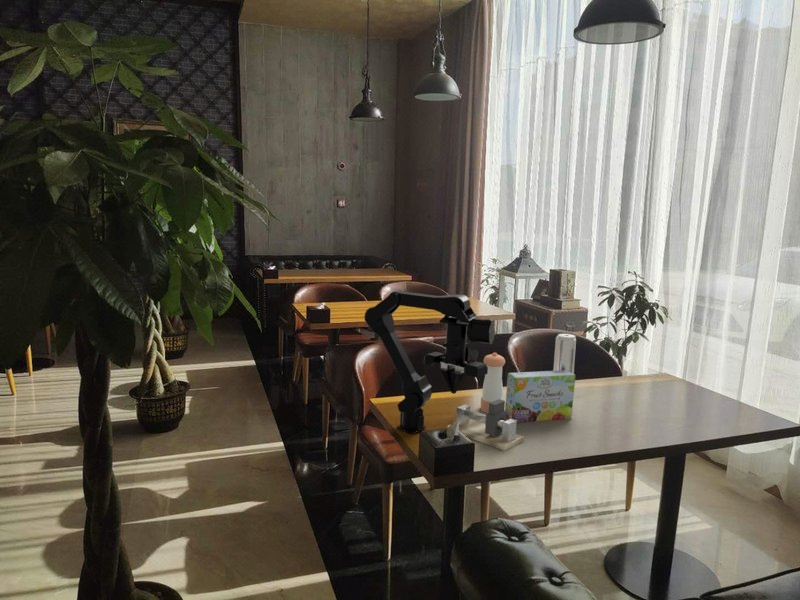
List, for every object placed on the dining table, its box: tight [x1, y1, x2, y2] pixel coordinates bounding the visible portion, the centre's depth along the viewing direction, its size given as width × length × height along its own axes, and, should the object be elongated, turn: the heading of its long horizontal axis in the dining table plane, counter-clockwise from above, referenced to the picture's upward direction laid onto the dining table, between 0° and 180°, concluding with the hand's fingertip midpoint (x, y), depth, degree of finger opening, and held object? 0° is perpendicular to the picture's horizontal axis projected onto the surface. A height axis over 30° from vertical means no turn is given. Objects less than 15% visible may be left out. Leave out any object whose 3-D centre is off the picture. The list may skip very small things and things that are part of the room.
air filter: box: [552, 333, 577, 374], centre depth 188 cm, size 6×6×25 cm
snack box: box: [504, 370, 576, 424], centre depth 178 cm, size 21×6×15 cm, turn 106°
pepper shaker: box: [480, 352, 506, 413], centre depth 184 cm, size 7×7×19 cm
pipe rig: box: [455, 404, 518, 442], centre depth 163 cm, size 18×4×5 cm, turn 47°
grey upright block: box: [484, 399, 507, 436], centre depth 161 cm, size 3×6×9 cm, turn 137°
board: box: [446, 418, 525, 452], centre depth 164 cm, size 20×10×1 cm, turn 47°
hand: (453, 393), depth 160 cm, fingers closed
